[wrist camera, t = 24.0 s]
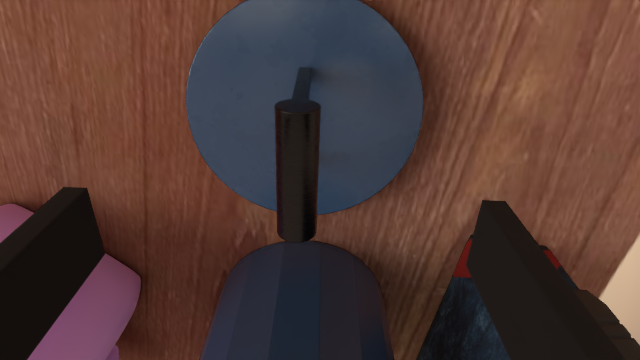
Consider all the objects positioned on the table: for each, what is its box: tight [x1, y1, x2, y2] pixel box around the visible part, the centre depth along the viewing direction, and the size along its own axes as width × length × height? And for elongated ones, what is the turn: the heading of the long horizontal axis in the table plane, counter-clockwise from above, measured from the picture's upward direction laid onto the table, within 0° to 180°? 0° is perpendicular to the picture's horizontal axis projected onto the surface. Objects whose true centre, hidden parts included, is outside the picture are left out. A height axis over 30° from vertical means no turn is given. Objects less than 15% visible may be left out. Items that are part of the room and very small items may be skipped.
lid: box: [186, 0, 423, 243], centre depth 20 cm, size 14×14×9 cm
